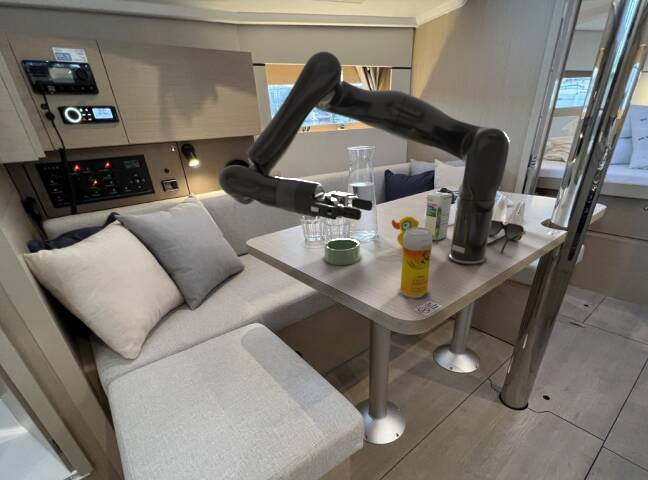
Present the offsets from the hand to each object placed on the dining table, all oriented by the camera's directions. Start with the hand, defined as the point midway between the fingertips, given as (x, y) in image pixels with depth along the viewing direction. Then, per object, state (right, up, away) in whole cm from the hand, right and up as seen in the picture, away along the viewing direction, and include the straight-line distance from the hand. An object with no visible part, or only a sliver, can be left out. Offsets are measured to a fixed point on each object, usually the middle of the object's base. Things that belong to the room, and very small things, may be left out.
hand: (366, 210), depth 68 cm
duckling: (+17, -3, +33) cm, 37 cm away
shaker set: (+55, +7, +47) cm, 72 cm away
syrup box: (+28, +2, +40) cm, 49 cm away
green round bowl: (-5, -7, +27) cm, 29 cm away
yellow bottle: (+12, -18, +6) cm, 22 cm away
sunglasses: (+44, -1, +33) cm, 55 cm away
